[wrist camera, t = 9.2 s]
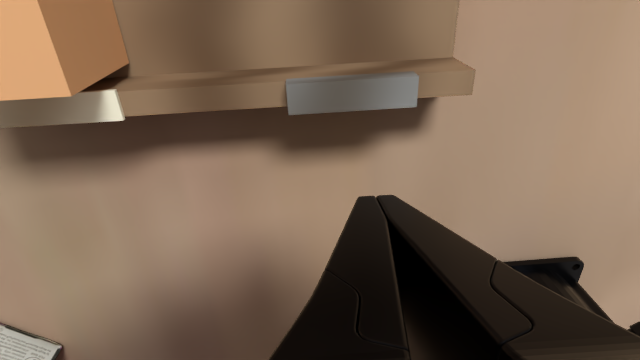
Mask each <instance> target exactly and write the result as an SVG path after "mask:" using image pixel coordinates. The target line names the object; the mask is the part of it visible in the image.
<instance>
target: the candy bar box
mask: <svg viewBox="0 0 640 360" xmlns="http://www.w3.org/2000/svg"><path fill="white" fill-rule="evenodd" d="M61 349H62V345H60V344H58V343H56V342H54V341H51V340H49V339H46V338H43V337H40V336H36V335H33V334H30V333H27V332H24V331H21V330H17V329H15V328H12V327H10V326H7V325H4V324H1V323H0V360H55V359H56V358H57V356H58V354H59V352H60V350H61Z"/></svg>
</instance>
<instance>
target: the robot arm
mask: <svg viewBox="0 0 640 360" xmlns="http://www.w3.org/2000/svg"><path fill="white" fill-rule="evenodd" d="M583 267H584V263H583V262H582V261H581V260H580V259H579V258H578V257H565V258H552V259H539V260H526V261H513V262H501V261H500V260H497V259H496V258H495V257H493V256H491V255H490V254H488V253H487V252H485V251H483V250H482V249H480V248H479V247H477V246H475V245H474V244H472V243H470V242H469V241H467V240H466V239H464V238H462V237H461V236H459V235H457V234H456V233H454V232H453V231H451V230H449V229H448V228H446V227H444V226H443V225H441V224H440V223H438V222H436V221H435V220H433V219H432V218H430V217H428V216H427V215H425V214H423V213H422V212H420V211H419V210H417V209H415V208H414V207H412V206H410V205H409V204H407V203H406V202H404V201H402V200H401V199H399V198H397V197H396V196H394V195H379V196H377V197H375V196H361V197H358V198H357V200H356V203H355V205H354V207H353V209H352V211H351V214H350V216H349V218H348V220H347V222H346V224H345V227H344V229H343V231H342V233H341V235H340V237H339V240H338V242H337V244H336V246H335V248H334V250H333V253H332V255H331V257H330V259H329V261H328V263H327V266H326V268H325V271H324V272H323V274H322V276H321V278H320V280H319V283H318V284H317V286H316V288H315V290H314V292H313V294H312V296H311V298H310V299H309V301H308V303H307V304H306V306H305V307H304V309H303V310H302V312H301V313H300V315H299V316H298V318H297V319H296V321H295V322H294V324H293V325H292V326H291V328H290V329H289V331H288V332H287V334H286V335H285V337H284V338H283V339H282V341H281V342H280V344H279V345H278V347H277V348H276V349H275V351H274V352H273V354H272V355H271V357H270V358H269V360H640V322H637V323H635V324H633V325H631V326H629V327H630V329H628V330H626V329H624V328H622V327H620V326H618V325H616V324H615V323H614V322H613V321H612V320H611V319H610V318H609V317H608V316H607V314H606V313H605V312H604V311H603V310H602V309H601V308H600V307H599V306H598V305H597V303H596V302H595V301H594V300H593V299H592V298H591V297H590V296H589V295H588V293H587V292H586V291H585V290H584V289H583V288H582V287H581V286H580V285H579V284H578V281H579V278H580V275H581V272H582V270H583Z"/></svg>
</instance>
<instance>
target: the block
mask: <svg viewBox="0 0 640 360" xmlns="http://www.w3.org/2000/svg"><path fill="white" fill-rule="evenodd" d="M128 63H129V60H128V57H127V53H126V49H125V46H124V42H123V38H122V35H121V31H120V27H119V24H118V20H117V16H116V13H115V9H114V6H113V2H112V0H0V101H4V100H20V99H37V98H53V97H70V96H73V95H75V94H77V93H78V92H80V91H82V90H83V89H85V88H87V87H89V86H90V85H92V84H94V83H95V82H97V81H99V80H101V79H102V78H104V77H106V76H107V75H109V74H111V73H113V72H114V71H116V70H118V69H120V68H121V67H123V66H125V65H126V64H128Z"/></svg>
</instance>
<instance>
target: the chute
mask: <svg viewBox="0 0 640 360" xmlns="http://www.w3.org/2000/svg"><path fill="white" fill-rule="evenodd" d="M112 2H113V6H114V9H115V13H116V16H117V20H118V24H119V27H120V31H121V35H122V38H123V42H124V46H125V49H126V53H127V57H128V60H129V63H128V64H126V65H125V66H123V67H121V68H120V69H118V70H116V71H114V72H113V73H111V74H109V75H107V76H106V77H104V78H102V79H101V80H99V81H97V82H95V83H94V84H92V85H90V86H89V87H87V88H85V89H83V90H82V91H80V92H78V93H77V94H75V95H73V96H70V97H53V98H37V99H20V100H4V101H0V128H15V127H31V126H47V125H63V124H78V123H94V122H110V121H124V120H125V116H141V115H157V114H173V113H189V112H205V111H221V110H237V109H253V108H269V107H285V106H288V115H300V114H316V113H331V112H347V111H363V110H379V109H394V108H410V107H417V98H428V97H444V96H460V95H472V91H473V84H474V77H475V69H473V68H471V67H469V66H468V65H466V64H464V63H462V62H460V61H459V60H457V59H455V58H453V51H454V43H455V34H456V25H457V17H458V8H459V0H112Z"/></svg>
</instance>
